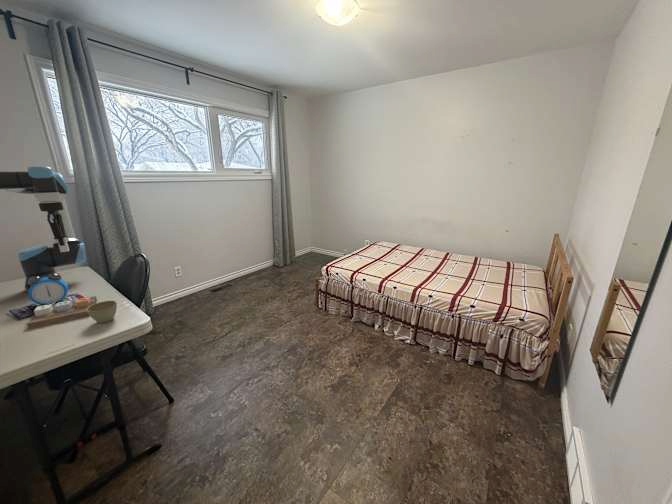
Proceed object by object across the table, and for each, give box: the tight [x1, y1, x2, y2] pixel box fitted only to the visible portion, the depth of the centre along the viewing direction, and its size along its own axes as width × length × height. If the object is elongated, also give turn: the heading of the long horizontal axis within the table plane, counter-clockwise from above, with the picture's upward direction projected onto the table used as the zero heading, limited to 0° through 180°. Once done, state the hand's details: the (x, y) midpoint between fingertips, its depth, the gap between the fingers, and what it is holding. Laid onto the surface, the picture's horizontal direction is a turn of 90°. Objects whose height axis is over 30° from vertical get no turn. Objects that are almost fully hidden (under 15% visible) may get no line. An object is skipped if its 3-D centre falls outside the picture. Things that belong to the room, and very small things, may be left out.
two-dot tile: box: [55, 299, 73, 312], centre depth 124 cm, size 5×5×3 cm
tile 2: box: [75, 296, 91, 308], centre depth 127 cm, size 5×5×3 cm
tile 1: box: [33, 304, 53, 316], centre depth 120 cm, size 5×5×3 cm
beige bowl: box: [87, 300, 118, 324], centre depth 117 cm, size 10×10×7 cm
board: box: [26, 295, 98, 329], centre depth 124 cm, size 18×20×2 cm
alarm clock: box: [27, 272, 69, 306], centre depth 133 cm, size 13×6×15 cm, turn 132°
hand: (65, 251), depth 129 cm, fingers closed
